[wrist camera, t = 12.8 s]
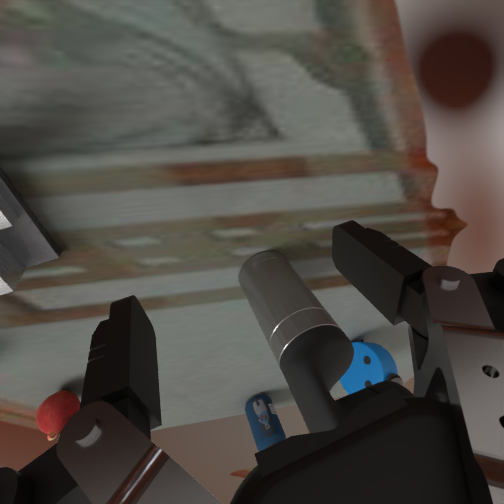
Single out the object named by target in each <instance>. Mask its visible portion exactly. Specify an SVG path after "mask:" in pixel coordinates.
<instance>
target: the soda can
mask: <svg viewBox="0 0 504 504" xmlns="http://www.w3.org/2000/svg"><path fill="white" fill-rule="evenodd" d="M245 411H246V415H247V418H248V421H249V424H250V427H251V430H252V433H253V436H254V439H255V442H256V445H257V449H258V451H259V452H260V451H262V450H264V449H266V448H268V447H270V446H272V445H274V444H276V443H278V442H280V441H282V440H285V439H286V436H285V433H284V431H283V428H282V426H281V423H280V421H279V418H278V416H277V414H276V411H275V408H274V406H273V404H272V401H271V399H270V398H269V397H268V396H267V395H265V394H263V393H261V394H256V395H254V396H252V397H251V398H249V399H248V401H247V402H246V407H245Z"/></svg>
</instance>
